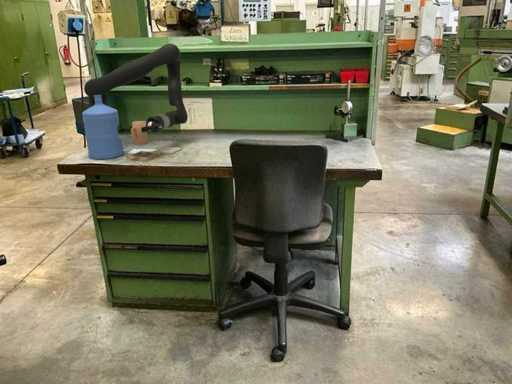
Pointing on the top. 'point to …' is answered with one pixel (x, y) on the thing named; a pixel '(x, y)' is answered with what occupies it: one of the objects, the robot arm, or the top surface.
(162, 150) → the mat
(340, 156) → the top surface
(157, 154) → the wooden frame
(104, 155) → the water jug
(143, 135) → the pillar candle
